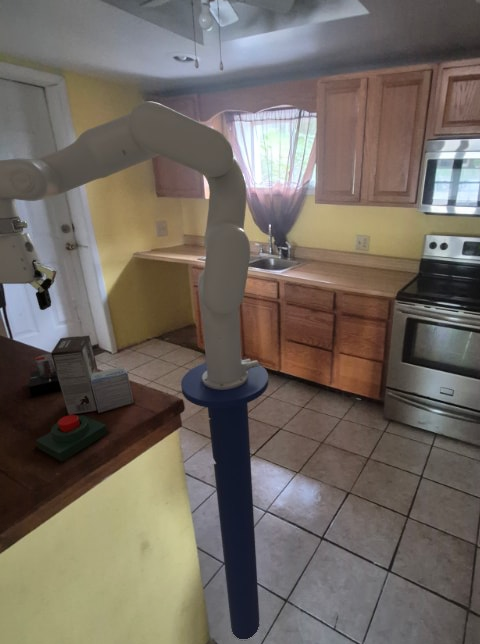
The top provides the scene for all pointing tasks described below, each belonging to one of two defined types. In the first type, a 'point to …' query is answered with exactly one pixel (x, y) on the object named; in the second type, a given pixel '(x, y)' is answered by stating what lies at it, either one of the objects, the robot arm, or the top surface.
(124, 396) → the medicine box
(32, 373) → the dial panel
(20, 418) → the top surface
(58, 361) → the coffee box
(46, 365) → the dial
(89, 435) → the switch block
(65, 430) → the light button
